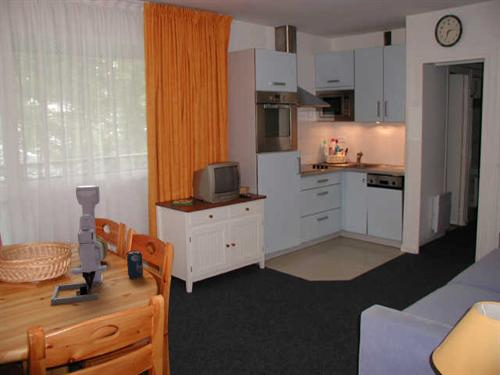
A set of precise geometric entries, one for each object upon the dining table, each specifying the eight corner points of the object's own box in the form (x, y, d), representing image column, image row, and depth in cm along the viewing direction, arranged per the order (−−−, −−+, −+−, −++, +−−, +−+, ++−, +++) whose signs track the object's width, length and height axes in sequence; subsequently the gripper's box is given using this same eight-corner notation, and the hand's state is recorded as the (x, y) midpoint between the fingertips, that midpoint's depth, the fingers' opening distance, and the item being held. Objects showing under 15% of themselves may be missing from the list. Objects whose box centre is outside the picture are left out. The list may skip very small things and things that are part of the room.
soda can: (141, 279, 225) (139, 254, 223) (126, 279, 225) (124, 254, 223) (144, 274, 232) (143, 249, 230) (130, 274, 232) (128, 249, 230)
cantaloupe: (79, 260, 255) (77, 232, 253) (108, 257, 259) (106, 230, 257) (78, 269, 241) (76, 239, 239) (109, 265, 245) (107, 236, 243)
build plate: (93, 299, 203) (92, 289, 202) (74, 302, 201) (73, 291, 200) (91, 289, 215) (90, 279, 214) (74, 291, 212) (73, 281, 211)
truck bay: (56, 289, 214) (56, 285, 214) (99, 284, 219) (99, 280, 218) (51, 304, 197) (50, 299, 197) (98, 299, 202) (97, 294, 202)
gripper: (68, 262, 201) (71, 293, 203) (105, 259, 205) (107, 289, 207) (70, 257, 208) (73, 287, 210) (105, 254, 212) (107, 284, 214)
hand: (90, 288), depth 209 cm, fingers closed
